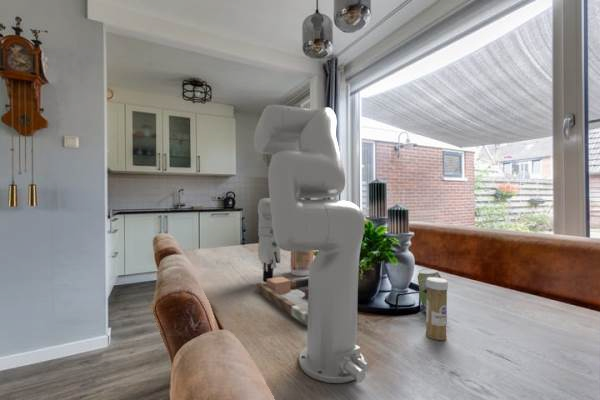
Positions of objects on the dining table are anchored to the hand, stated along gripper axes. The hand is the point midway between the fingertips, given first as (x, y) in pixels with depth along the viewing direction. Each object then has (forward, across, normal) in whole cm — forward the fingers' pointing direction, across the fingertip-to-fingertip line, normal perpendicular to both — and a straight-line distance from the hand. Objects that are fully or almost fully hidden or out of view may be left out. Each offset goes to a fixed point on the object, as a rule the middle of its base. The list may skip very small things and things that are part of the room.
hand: (267, 281), depth 104 cm
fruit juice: (+1, +7, -19) cm, 20 cm away
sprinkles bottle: (+1, -55, -17) cm, 58 cm away
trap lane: (+1, -20, -4) cm, 21 cm away
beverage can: (+1, -46, -29) cm, 55 cm away
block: (+1, -8, 0) cm, 8 cm away
